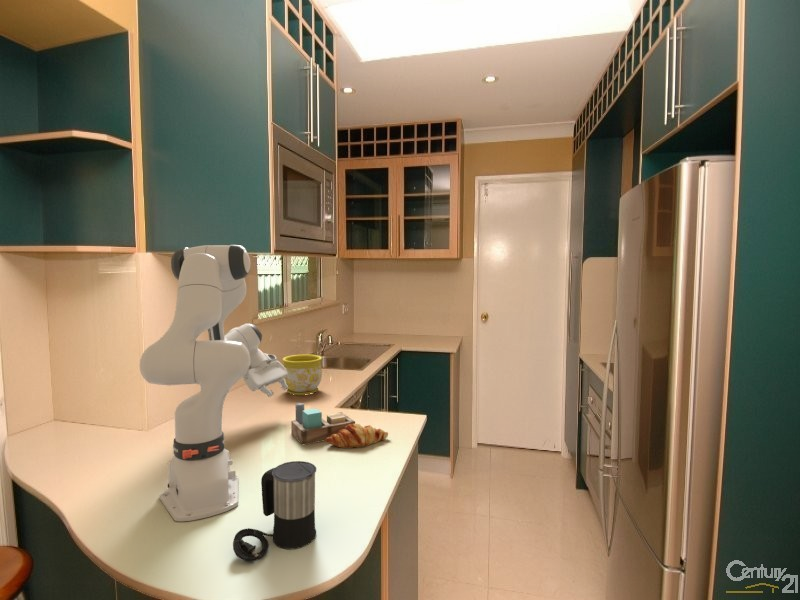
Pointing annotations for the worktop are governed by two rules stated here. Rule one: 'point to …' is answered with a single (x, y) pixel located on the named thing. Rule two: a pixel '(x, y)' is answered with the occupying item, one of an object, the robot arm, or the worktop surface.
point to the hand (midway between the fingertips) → (279, 392)
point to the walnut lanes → (318, 430)
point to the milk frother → (284, 509)
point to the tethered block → (308, 417)
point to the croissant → (356, 436)
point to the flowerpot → (302, 373)
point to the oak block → (335, 418)
